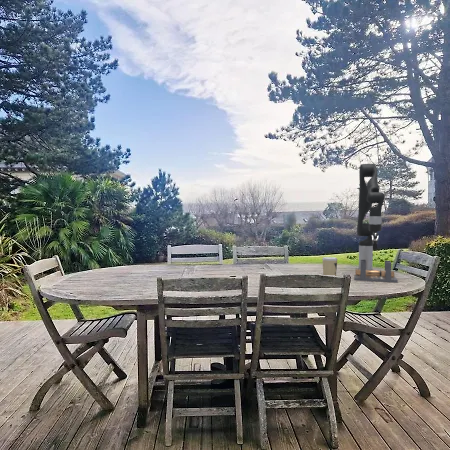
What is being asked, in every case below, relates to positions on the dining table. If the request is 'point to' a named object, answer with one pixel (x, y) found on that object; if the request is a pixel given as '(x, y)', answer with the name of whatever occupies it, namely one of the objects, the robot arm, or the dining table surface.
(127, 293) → the dining table surface
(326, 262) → the coffee cup
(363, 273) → the grey u-shaped frame
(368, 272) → the copper tube
